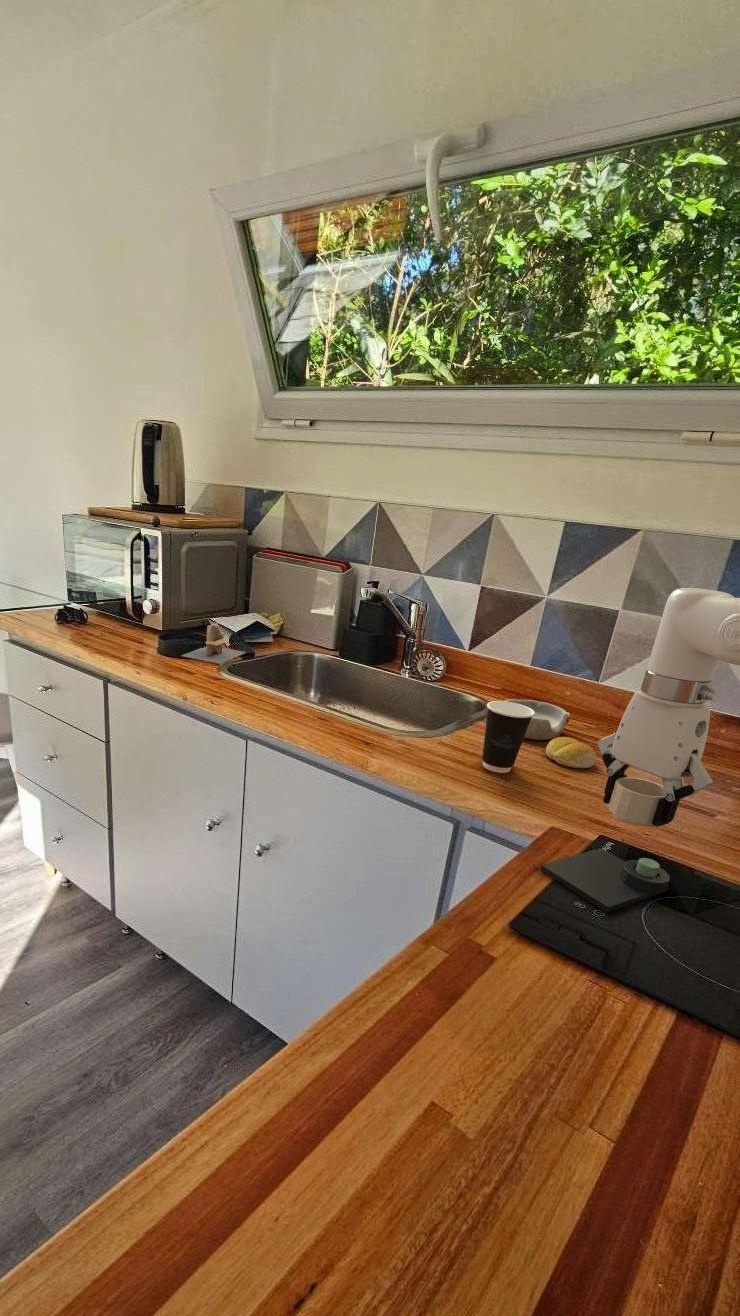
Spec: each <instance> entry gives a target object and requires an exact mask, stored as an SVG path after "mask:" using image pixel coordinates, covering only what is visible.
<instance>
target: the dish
mask: <svg viewBox="0 0 740 1316" xmlns="http://www.w3.org/2000/svg"><path fill="white" fill-rule="evenodd" d="M504 701H506V702H513V703H517V704H521V705H524V706H527V707H529V708H531V709H532V710H533V711H534V712H535V715H534V716H532V718H531V721H530V723H529V726H528V729H527V731H526V734H525V736H524V739H529V740H538V741H545V740H553V739H555V738H558V737H560V736H561V735H562V733H563V731H564V728H565V727H566V724H568V723H569V722H570V719H571V713H570V712H567V711H566V710H565V709H564V708H561V707H560V706H558V705H554V704H552V703H548V702H545V701H537V700H533V699H504Z"/></svg>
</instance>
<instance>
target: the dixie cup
mask: <svg viewBox="0 0 740 1316" xmlns="http://www.w3.org/2000/svg"><path fill="white" fill-rule="evenodd" d="M486 707H487V712H486V713H487V714H486V722H485V731H484V740H483V747H482V748H483V749H482V758H481V760H482V766H483V768H484V769H486V770H488V771H491V772H494V773H500V774H506V773H508V772H509V773H510V772H511V769H512V767H514V766H515V763H516V759H517V757H518V756H519V755H518V754H519V752H520V749H521V747H522V745H523V741H524V739H525V738H524V736H525V734H526V731H527V729H528V726H529V723H530V721H531V718H532V716H534V715H535V712H534V711H533V710H532V709H531V708H529V707H527V706H524V705H521V704H517V703H513V702H506V701H505V700H493V701H489V702H488V703H487V704H486Z"/></svg>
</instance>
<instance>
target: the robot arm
mask: <svg viewBox="0 0 740 1316" xmlns="http://www.w3.org/2000/svg"><path fill="white" fill-rule="evenodd" d="M719 661H722V662H725V663H727V664H730V665H734V666H740V597H735V596H734V595H732V594H730V593H728V592H724V591H721V590H714V589H707V588H698V587H680V588H677V589H674V590H673V591H672V592H671V593H670V594H669V596H668V598H667V600H666V602H665V606H664V609H663V612H662V615H661V620H660V623H659V626H658V629H657V632H656V636H655V639H654V642H653V645H652V650H651V652H650V657H649V660H648V663H647V667H646V670H645V673H644V677H643V680H642V684H641V687H640V689H638V690H636V691H635V692H634V694H633V696H632V697H631V699H630V701H629V703H628V705H627V707H626V708H625V710H624V713H623V715H622V718H621V720H620V723H619V725H618V728H617V731H616V732H614V733H613V734H610V735H608V736H605V737H602V738H601V739H599V740H598V741H597V743H596V744H597V747H598V749H599V752H600V754H601V760H602V762H603V764H604V766H605V768H606V769H605V774H606V775H607V776H608V777H607V781H606V784H605V787H604V791H603V794H604V795H603V799H602V802H603V803H604V804H607V805H609V803H610V799H611V796H612V793H613V789H614V786H615V782H616V780H617V779H618V778H623V777H628V775H627V774H625V773H626V772H627V771H628V770H629V769H630V768H631V767H632V768H635V769H637V770H640V771H643V772H645V773H646V774H650V775H653V776H655V777H658V778H660V779H662V786H664V792H665V797H664V798H661V799H660V800H659V802H658V805H657V808H656V812H655V815H654V818H653V821H652V824H653V825H654V826H653V827H656V828H658V827H662V826H665V825H669V824H670V823H671V822H673V820H674V819H675V815H676V813H677V809H678V807H679V804H680V802H681V800H682V799H685V798H687V797H689V796H692V795H694V794H696V793H698V792H700V791H702V790H705V789H706V788H708V787H711V786H712V785H713V783H714V781H713V779H712V777H711V775H710V773H709V772H708V771H707V769H706V768H705V766H704V764H703V762H702V759H703V755H704V751H705V746H706V742H707V738H708V733H709V727H710V719H711V706H710V705H707V704H705V703H707V702H708V701H712V702H715V701H717V699H718V698H719V695H720V691H719V690H717V689H714V688H713V684H714V682H713V679H714V676H715V673H716V670H717V667H718V665H719ZM692 777H693V781H692V782H690V783H689V784H685V778H692Z"/></svg>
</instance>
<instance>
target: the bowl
mask: <svg viewBox="0 0 740 1316" xmlns="http://www.w3.org/2000/svg"><path fill="white" fill-rule="evenodd" d="M664 797H665V792H664V786H663V784H659V783H658V782H655V781H652V780H648V779H645V778H639V777H634V776H633V777H631V776H630V777H629V776H627V777H623V778H618V779H617V780H616V782H615V786H614V789H613V793H612V796H611V799H610V803H608V806H607V808H608V810H609V812H610V813H611V815H612V816H613V817H614V818H616V819H617V820H619V821H621V822H624V823H626V824H630V825H633V826H638V827H655V826H654V825H653V824H652V821H653V818H654V815H655V812H656V808H657V805H658V802H659V800H660V799H661V798H664Z"/></svg>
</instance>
